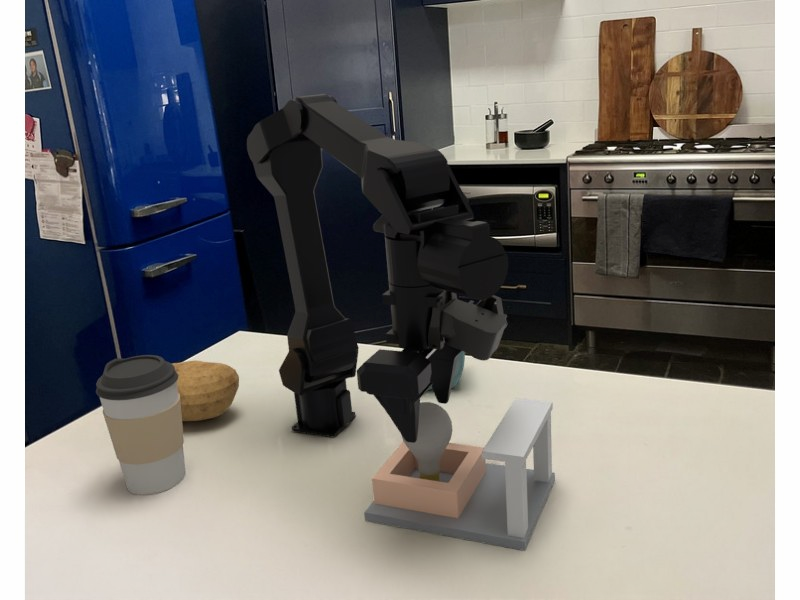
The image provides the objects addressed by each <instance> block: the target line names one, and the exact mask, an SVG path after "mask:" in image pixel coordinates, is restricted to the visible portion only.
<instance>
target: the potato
mask: <svg viewBox="0 0 800 600" xmlns="http://www.w3.org/2000/svg"><path fill="white" fill-rule="evenodd" d="M170 363H171V362H170ZM171 364H172V365H174V367H175V371H176V372H177V374H178V379H177V388H178V393H179V394H180V402H181V414H182V422H200V421H204V420H209V419H214V418H217V417H219V416H220V415H222V414H224V413H225V412H226V411H227V410H228V409H229V407H230V406H232V404H233V401H234V400H235V397H236V395H237V392H238V390H239V388H240V376H239V374H238V372H237V370H236V369H235V368H233V367H231V366H230V365H228V364H225V363H221V362H211V361H209V362H208V361H202V360H187V361H183V362H182V361H181V362H173V363H171Z"/></svg>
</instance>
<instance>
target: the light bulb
mask: <svg viewBox="0 0 800 600" xmlns="http://www.w3.org/2000/svg"><path fill="white" fill-rule="evenodd" d="M452 435H453V422H452V419H451V417H450V415H449V414H448V412H447V411H446V409H445V408H444V407H442V406H441V405H440V404H437V403H435V402H431V401H428V402H427V401H425V402H424V401H422V402H420V407H419V424H418V435H417V441H416V442H415V443H411V442H406V441H405V439H404V438H403V436H402V435H401V438H402V442H403V441H404V443H405V444H406V446H407V447H408V449H409V450H410V451H411V452H412V454H413V455H414V456H415V458H416V459H417V461H418V468H419V472H420V479H426V480H432V481H439V482H440V480H439V470H440V465H439V462H440V458H441V456H442V454H443V452H444V450H445V449H446V447H447V445H448V443H450V441H451V439H452Z"/></svg>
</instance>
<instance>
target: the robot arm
mask: <svg viewBox="0 0 800 600" xmlns="http://www.w3.org/2000/svg"><path fill="white" fill-rule="evenodd" d="M323 150H324V151H325V152H326V153H327V154H329V155H330V156H332V158H334V159H335V160H337V161H338V162H340V163H341V164H342V165H343V166H344V167H346V168H348V169H349V170H350V171H351V172H352V173H354V174H356V175H357V177H359V179H360V180H361V181H360V182H361V192H362V194H363V195H364V196H365V197H366V199H367V200H368V201H369V203H371V204H372V205H373V206H374V208H375V209H377V211H378V212H380V213H381V216H380V217H379V218H378V219H377V220H376V221H375V222H374V223H373V224H372V225H373V226H372V229H373V231H374V232H376V233H383V234H384V241H385V242H384V243H385V252H386V253H385V255H386V263H387V264H386V267H387V275H388V277H387V279H388V287H389V289H388V290H387V291H385V292H383V294H381V295H382V296H381V297H382V305H388V306H390V311H391V313H390V314H391V321H392V328H391V329H390V330H389V331H388V330H387V331H388V332H386V333H385V340H386V344H391V345H393V344H394V345H398V348H401V349H402V350H393V349H381V348H380V349H378V350H377V351H376V352H374V353H373V354H372V355H371V356H370V357H369V358H368V359H366V360H365V361H364V362H363V363H362V364H361V365H360V366H359V367H358V359H359V348H360V347H359V345H358V342H357V339H356V335H355V333H356V332H355V324H354V322H353V320H352V319H351V318H346V317H345V316H344V315H343V314H342V312H341V311H340V310H339V309H337V307H336V306H335V302H334V296H333V292H332V290H333V289H332V285H331V281H330V279H331V278H330V273H329V268H328V263H327V256H326V251H325V246H324V241H323V234H322V229H321V223H320V219H319V212H318V207H317V202H316V195H315V189H316V187H317V183H318V180H319V178H320V175H321V173H322V170H323V167H324V166H323V155H322V152H323ZM246 151H247V153H248V156H249V159H250V160H251V162H252V165H253V169H254V173H255V176H256V178H257V179H258V180H259V182H261V184H262V185H263V187H265V189H266V190H267V191H268V192H269V193H270V194H271V195H272V197H273V199H274V203H275V209H276V213H277V218H278V219H277V220H278V223H279V225H278V226H279V229H280V236H281V241H282V246H283V251H284V255H285V256H284V257H285V261H286V262H285V263H286V268H287V272H288V277H289V282H290V288H291V293H292V298H293V304H294V310H295V313H294V315H293V318H292V320H291V323H290V325H289V328H288V332H287V334H286V335H287V345H288V352H287V354H286V356H285V358H284V360H283V362H282V364H281V366H280V367H279V369H278V372H279V377H280V380H281V382H282V386H283V387H285V388H286V389H288V390H289V391H291V392H292V393H293V396H294V397H293V398H294V404H295V411H296V419H297V422H296V423H294V424H293V425H292V426H291V432H296V433H300V434H301V433H303V434H308V435H309V434H310V435H315V436H316V435H318V436H322V437H323V436H325V437H332V438H334V437H336V436H337V435H338V434H339V433H340V432H341V431H343V429H344V428H346V426H347V425H348V424H350V422H351V421H352V420H353V419H355V417H356V411H353V408H352V407H353V406H352V398H351V392H350V390H349V389H348V388H347V379H350V378H351V379H353V378H354V377H356V378H357V379H356V381H357V387H358V390H359V391H360V392H363V393H366V394H368V395H372V396H373V397H374V398H375V399H376V400H377V401H378V402H379V404H380V405H381V407H382V408H383V409H384V410H385V413H386V414H387V415H388V417H389V418H390V419H391V421H392V422H393V424H394V425H395V427H396V429H397V430H398V432H399V433H400V434H401V437H402V436H403V438H404V439H405V441H406V442H411V443H415V442H416V441H417V435H418V424H419V407H420V403H421V398H422V397H423V396H424V395H425V394H426V392H427V391H428V390H430V389H429V388H430V387H431V386H432V389H431V390H432V391H433V394H434V396H435V399H436V401H437V403H439V404H448V403H449V401H450V396H451V392H452V388H451V387H452V382H453V378H454V372H455V368H456V364H457V360H458V356H459V353H460V352H461V351H464V352H465V354H469V355H471V357H472V359H473V358H474V359H476V360H478V361H483V362H484V361H488V360H490V359H491V357H492V355H493V354H494V352H495V351H496V350H497V349H498V348H499V345H500V342H501V341H502V340H501V339H502V337H503V334H504V330H505V329H506V328H507V326H508V321H507V320H508V319H507V317H508V314H505V313H504V307H503V301H502V298H501V297H500V296H497V295H496V294H497V293H498V292H499V291H500V289H501V288H502V287H503V285H504V283H505V281H506V278H507V274H508V270H509V256H508V254H506V251H505V248H504V246H503V244H502V243H501V242H500V241H499V240H498V238H495V237H493V236H490V226H489V225H490V224H489V223H488V222H486V221H481V220H476V221H470V220H473V219H474V217H475V216H474V215H475V214H474V211H473V210H472V208H471V206H470V203H469V202H470V200H469V199H468V197H467V196H466V195H465V193H464V192H463V190H462V188H461V186H460V185H459V183H458V181H457V179H456V177H455V174H454V173H453V171H452V168H451V167H450V165H449V164H448V159H447V158H446V157H445V155H444V153H442V152H441V151H440V150H439V149H436V148H434V147H432V146H428V145H426V144H423V143H419V142H417V141H410V140H409V141H408V140H400V139H396V138H395V139H394V138H392V137H389V136H387V135H386V134H385V133H383V132H381V131H380V130H379V129H377V128H376V127H374V126H372V125H371V124H369V123H367V122H366V121H365V120H363V119H362V118H360V117H359V116H357V115H356V114H355V113H353V112H351V111H349V110H348V109H347V108H345V107H343V106H342V105H340V104H339V103H338V101H337V99H336V98H334V96H333V95H328V94H327V93H319V94H311V95H301V96H300V95H299V96H296V97H293V99H289V100H288V101H287V103H286V104H285V105H284V106H283V107H282V108H281V109H279V110H277V111H275V112H273V113H271V114H270V115H268V116H267V117H264V118H263V119H261V120H260V121H258V122H257V123H256V124H255V125H254V127H253V129H252V130H251V131H250V133H249V134H248V136H247V139H246ZM441 205H443V206H441ZM440 206H441V207H440ZM458 295H460V296H463V297H466V298H470V299H471V300H469V302H466V301H464V300H460V299H458ZM472 299H473V300H472ZM474 300H476V301H479V302H477V303H476V304H475V301H474ZM357 367H358V368H357ZM429 382H430V383H429Z"/></svg>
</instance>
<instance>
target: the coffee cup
mask: <svg viewBox="0 0 800 600" xmlns="http://www.w3.org/2000/svg"><path fill="white" fill-rule="evenodd" d="M177 379H178V374H177V372H176V371H175V367H174V365H172V364H171V362H170V361H166V360H165V359H164V358H163V357H162V356H159V355H154V354H143V355H136V356H131V357H127V358H118V357H117V358H114V359H112V360H110V361H108V362H107V363H106V364H105V366H104V370H103V373H102V375H101V376H100V377H99V378H98V379H97V381H96V384H95V385H96V390H95V394H96V395H97V396H98V398H99V400H100V404H101V407H102V415H103V419H104V421H105V424H106V428H107V431H108V433H109V438H110V441H111V444H112V446H113V450H114V454H115V456H116V459H117V460H118V462H119V466H120V469H121V472H122V475H123V478H124V482H125V485H126V489H127V490H128V491H129V492H130V493H132V494H134V495H138V496H139V495H141V496H148V495H155V494H160V493H163V492H165V491H166V492H167V491H168V490H170V489H172V488H174V487H176V486H177V485H179V484H180V483H181V482H182V481H183V480H184V479H185V477H186V463H185V455H184V454H185V452H184V442H185V440H184V426H183V421H182V414H181V402H180V394H179V393H178V388H177Z"/></svg>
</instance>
